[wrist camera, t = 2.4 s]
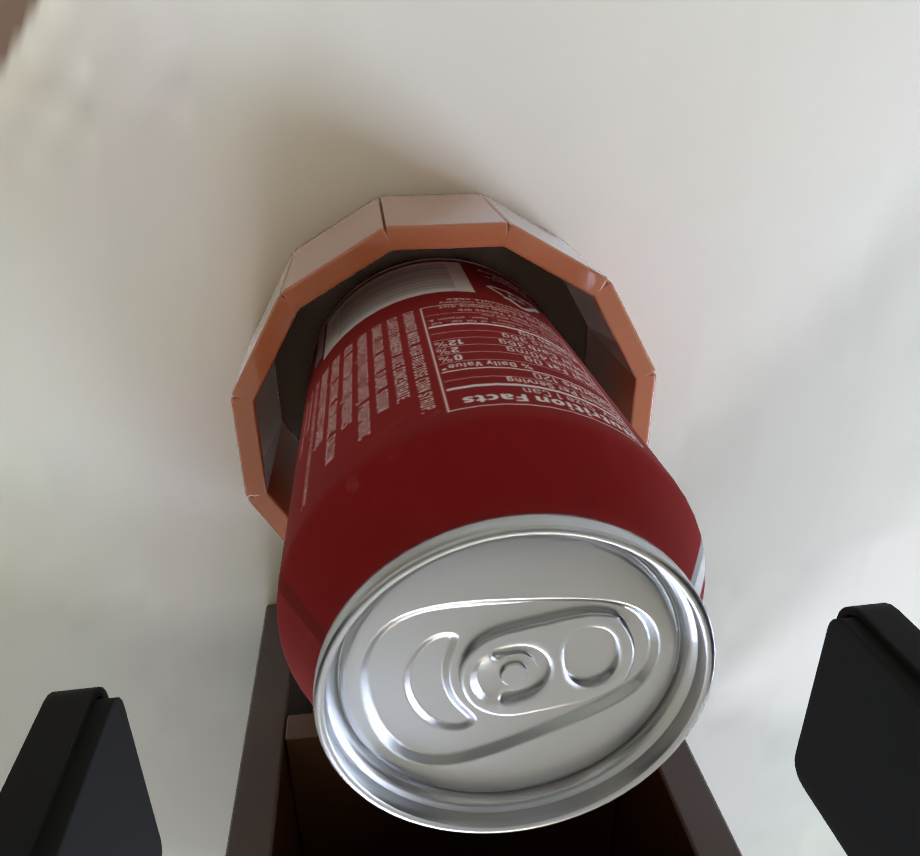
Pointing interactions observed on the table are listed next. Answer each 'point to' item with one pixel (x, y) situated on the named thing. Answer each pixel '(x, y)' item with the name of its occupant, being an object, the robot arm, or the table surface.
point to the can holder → (414, 228)
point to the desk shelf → (419, 847)
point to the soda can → (483, 563)
